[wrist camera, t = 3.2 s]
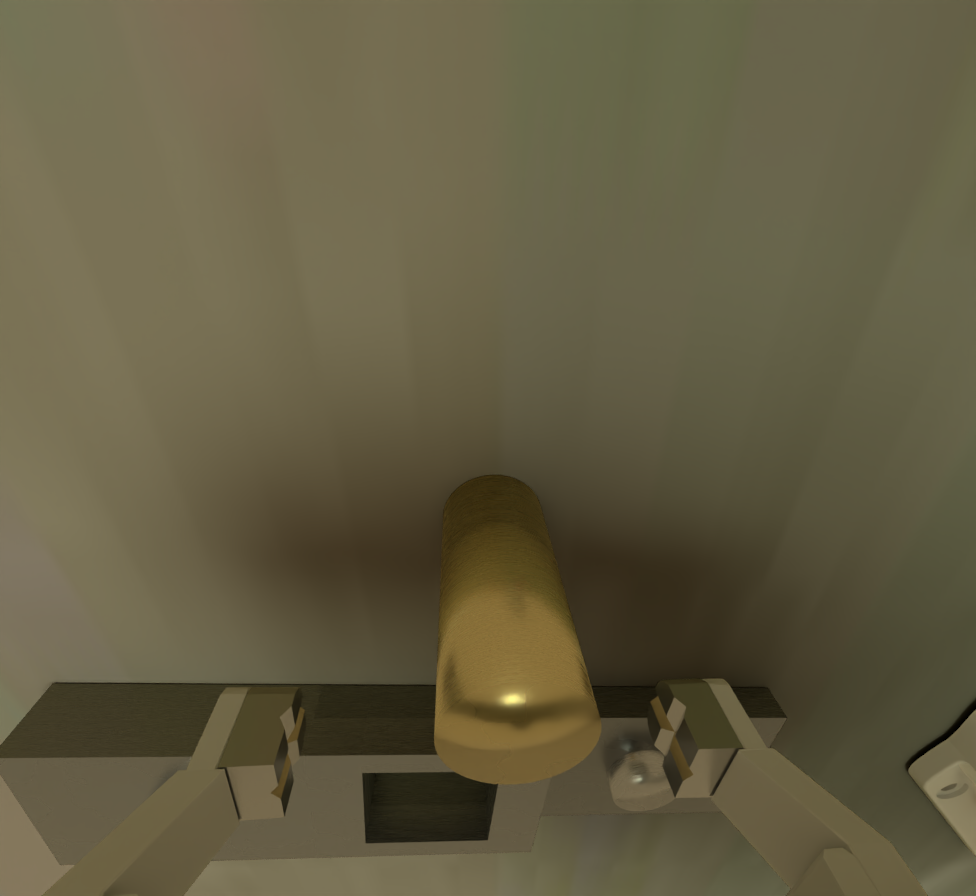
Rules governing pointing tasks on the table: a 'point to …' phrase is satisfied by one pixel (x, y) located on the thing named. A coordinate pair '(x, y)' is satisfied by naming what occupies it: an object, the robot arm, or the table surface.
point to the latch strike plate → (329, 771)
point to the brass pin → (507, 643)
